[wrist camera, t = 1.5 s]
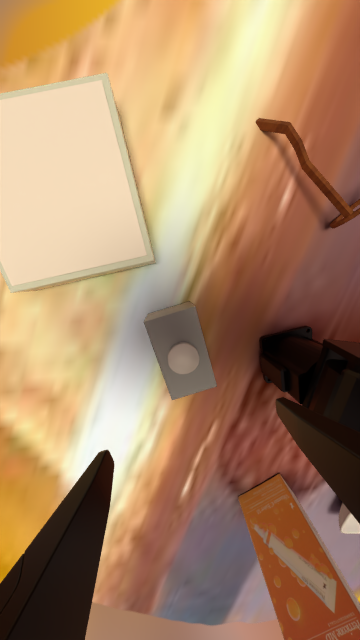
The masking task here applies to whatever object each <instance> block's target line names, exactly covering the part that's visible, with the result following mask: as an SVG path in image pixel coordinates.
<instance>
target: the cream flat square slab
mask: <svg viewBox="0 0 360 640" xmlns="http://www.w3.org/2000/svg"><path fill="white" fill-rule="evenodd" d="M339 526H340V530H341V532H342V533H348V534H360V524H359V523H358V522H357V520H356V519H355V518H354V516H353V515H352V514H351V513H350V511H349V510H348V509H347V508H346V506H345V505H344V504H343V503H342V506H341V509H340V513H339Z"/></svg>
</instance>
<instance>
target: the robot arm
mask: <svg viewBox="0 0 360 640" xmlns="http://www.w3.org/2000/svg"><path fill="white" fill-rule="evenodd" d="M306 330H307V331H306ZM265 339H266V340H265ZM264 340H265V342H263V341H264ZM260 348H261V355H260V359H261V368H262V373H263V375H264V380H265V381H266V382H267V383H271V382H273V383H274V384H275V385H276V386H277V387H278V388H279V389H280V390H281V391H283V392H288V393H289V394H290V395H291V396H292V397H293V398H294V399H296V400H297V401H298V402H299V403H300V404H302V406H301V405H299V404H297V403H295V402H293V401H291V400H288V399H286V398H284V397H282V398H278V399H276V410H277V414H278V416H279V418H280V419H281V421H282V422H283V424H284V425H285V427H286V428H287V430H288V431H289V433H290V434H291V436H292V437H293V439H294V440H295V442H296V443H297V445H298V446H299V448H300V449H301V450H302V452H303V453H304V454H305V455H306V457H307V458H308V459H309V461H310V462H311V463H312V464H313V466H314V467H315V468H316V469H317V471H318V472H319V473H320V475H321V476H322V477H323V478H324V480H325V481H326V482H327V483H328V485H329V486H330V487H331V489H332V490H333V491H334V492H335V494H336V495H337V496H338V497H339V499H340V500H341V501H342V502H343V504H344V505H345V506H346V508H347V509H348V510H349V511H350V513H351V514H352V515H353V516H354V518H355V519H356V520H357V522H358V523H359V524H360V343H356V342H348V341H339V340H330V339H324V340H323V343H320V342H318V341H315V340H313V339H312V328H311V327H308V326H304V327H300V328H296V329H292V330H287V331H283V332H279V333H275V334H271V335H267V336H263V337H261V338H260ZM268 378H269V379H268ZM113 473H114V461H113V458H112V456H111V454H110V452H109V450H104V451H101V452H99V453H98V454H97V456H96V457H95V458H94V460H93V461H92V462H91V464H90V465H89V466H88V468H87V469H86V470H85V472H84V473H83V474H82V476H81V477H80V478H79V480H78V481H77V482H76V484H75V485H74V486H73V488H72V489H71V490H70V492H69V493H68V494H67V496H66V497H65V498H64V500H63V501H62V502H61V504H60V505H59V506H58V508H57V509H56V510H55V512H54V513H53V514H52V516H51V517H50V518H49V520H48V521H47V522H46V524H45V525H44V526H43V528H42V529H41V530H40V532H39V533H38V534H37V536H36V537H35V538H34V540H33V541H32V542H31V544H30V545H29V546H28V548H27V549H26V550H25V553H24V554H22V556H21V557H20V558H19V560H18V561H17V562H16V564H15V565H14V566H13V568H12V569H11V570H10V572H9V573H8V574H7V575H6V577H5V578H4V579H3V581H2V582H1V583H0V640H85V635H86V630H87V624H88V620H89V614H90V609H91V604H92V598H93V593H94V588H95V583H96V577H97V572H98V567H99V561H100V556H101V551H102V546H103V540H104V535H105V530H106V524H107V519H108V514H109V508H110V501H111V491H112V482H113Z"/></svg>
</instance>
